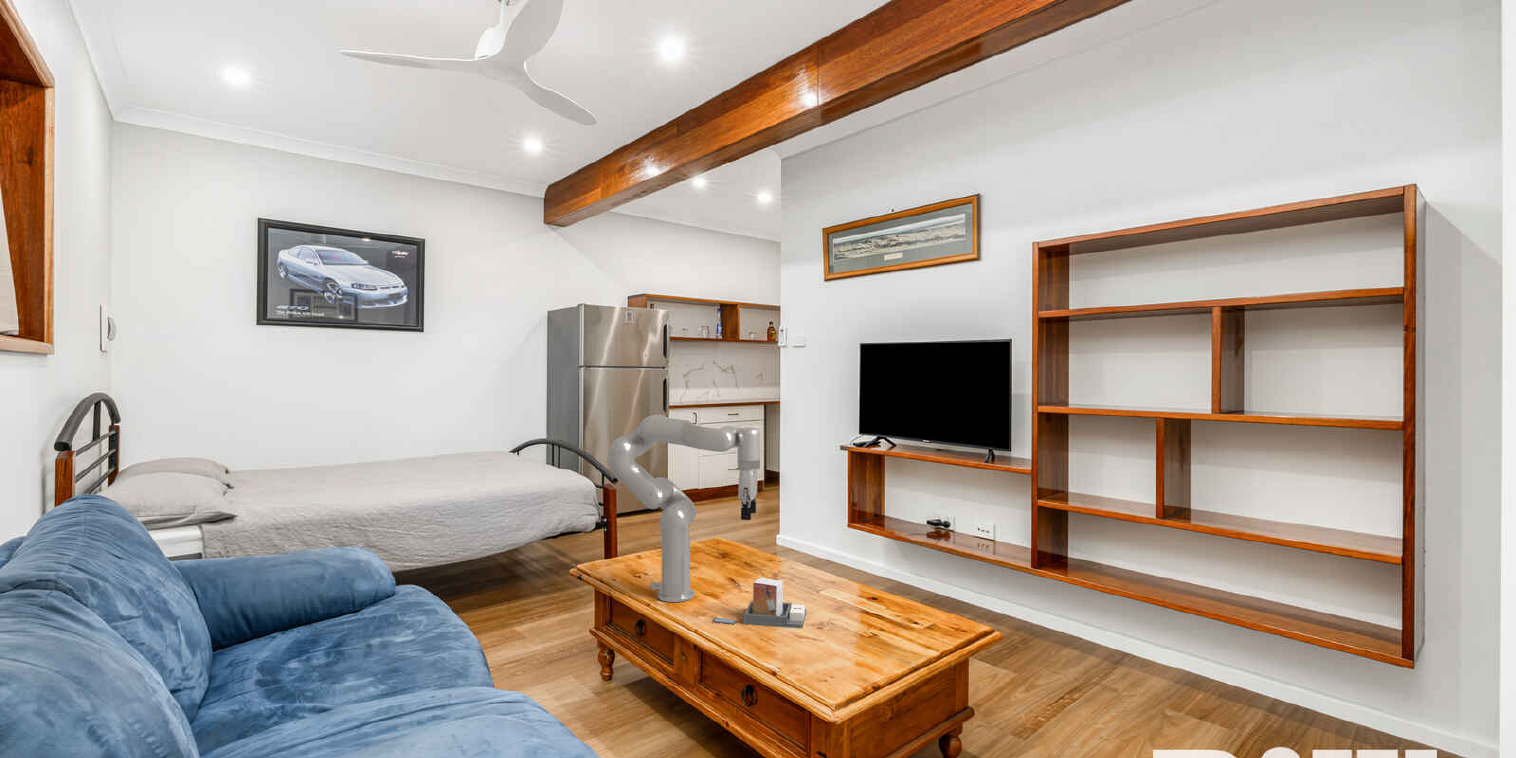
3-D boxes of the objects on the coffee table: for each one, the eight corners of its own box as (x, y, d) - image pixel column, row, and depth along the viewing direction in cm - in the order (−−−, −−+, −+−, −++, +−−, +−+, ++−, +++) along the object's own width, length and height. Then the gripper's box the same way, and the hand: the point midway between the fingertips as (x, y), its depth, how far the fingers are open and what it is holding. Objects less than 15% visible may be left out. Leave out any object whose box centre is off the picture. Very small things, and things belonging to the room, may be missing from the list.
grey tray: (743, 624, 206) (743, 612, 205) (750, 608, 218) (750, 597, 218) (802, 628, 203) (802, 616, 202) (806, 612, 215) (806, 601, 215)
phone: (712, 624, 207) (712, 621, 207) (715, 620, 210) (715, 617, 210) (734, 626, 205) (734, 623, 205) (737, 622, 208) (737, 619, 208)
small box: (752, 615, 210) (752, 582, 209) (759, 609, 215) (759, 576, 214) (776, 619, 206) (776, 585, 206) (783, 613, 212) (783, 580, 211)
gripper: (742, 460, 233) (742, 510, 234) (732, 468, 216) (732, 522, 217) (763, 461, 232) (763, 511, 233) (755, 469, 215) (755, 523, 216)
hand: (748, 516), depth 225 cm, fingers open, 9 cm apart
